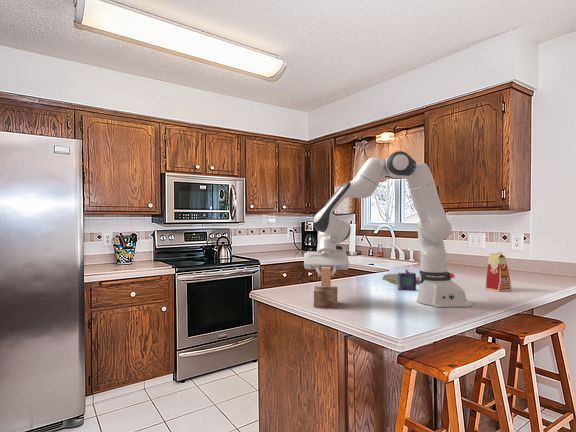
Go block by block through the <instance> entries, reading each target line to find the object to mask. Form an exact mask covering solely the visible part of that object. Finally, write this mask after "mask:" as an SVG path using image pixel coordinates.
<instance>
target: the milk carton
mask: <svg viewBox="0 0 576 432" xmlns="http://www.w3.org/2000/svg"><path fill="white" fill-rule="evenodd" d="M488 255H489V257H488V261H487V268H486V276H485V277H486V279H485V290H489V291H494V292H498V293H500V292H508V291H509V292H511V291H512V290H513V289H512V284H511V283H512V281H511V278H510V277H511V276H510V272H509V266H508V263H507V262H508V261H507V259H506V256H505V255H504V254H503V252H502V251H500V252H495V253H488Z"/></svg>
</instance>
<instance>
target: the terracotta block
mask: <svg viewBox="0 0 576 432" xmlns="http://www.w3.org/2000/svg"><path fill="white" fill-rule="evenodd" d="M331 270H332V269H331V267H321V269H320V271H321V277H320V282H321V283H320V284H321V286H320V287H332V286H331V281H332V280H331V278H332V277H330V272H332V271H331Z"/></svg>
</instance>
